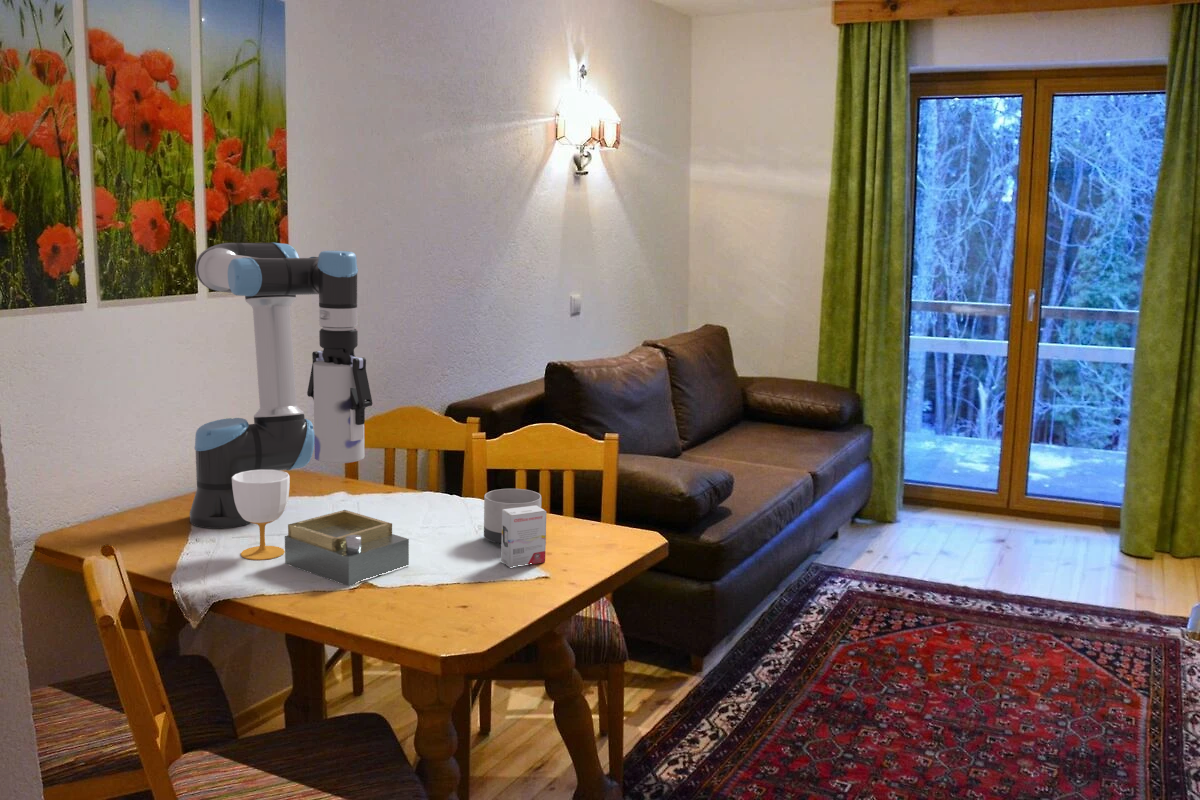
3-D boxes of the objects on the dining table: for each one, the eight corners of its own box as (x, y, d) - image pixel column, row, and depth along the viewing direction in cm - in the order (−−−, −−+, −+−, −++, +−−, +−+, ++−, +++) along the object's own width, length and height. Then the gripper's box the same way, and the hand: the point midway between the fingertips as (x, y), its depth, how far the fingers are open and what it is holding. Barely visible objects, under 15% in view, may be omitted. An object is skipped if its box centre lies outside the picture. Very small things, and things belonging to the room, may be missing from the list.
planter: (551, 538, 252) (552, 494, 250) (519, 553, 241) (520, 507, 239) (505, 528, 258) (506, 485, 256) (472, 542, 247) (472, 497, 245)
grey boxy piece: (285, 563, 229) (284, 522, 227) (345, 546, 241) (345, 506, 240) (348, 586, 217) (348, 542, 215) (408, 566, 230) (408, 525, 228)
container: (352, 465, 221) (351, 367, 217) (306, 461, 222) (304, 364, 219) (372, 454, 230) (371, 360, 227) (327, 451, 232) (326, 357, 228)
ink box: (536, 556, 239) (537, 504, 237) (546, 563, 234) (547, 510, 232) (499, 561, 234) (500, 508, 232) (509, 569, 230) (510, 514, 228)
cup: (264, 541, 243) (262, 466, 240) (302, 551, 237) (301, 474, 234) (221, 555, 233) (219, 477, 230) (260, 566, 227) (258, 486, 224)
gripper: (287, 324, 225) (289, 430, 229) (361, 335, 212) (362, 447, 216) (317, 321, 231) (318, 425, 235) (390, 332, 218) (391, 441, 222)
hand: (339, 435), depth 225 cm, fingers closed on container, 10 cm apart
